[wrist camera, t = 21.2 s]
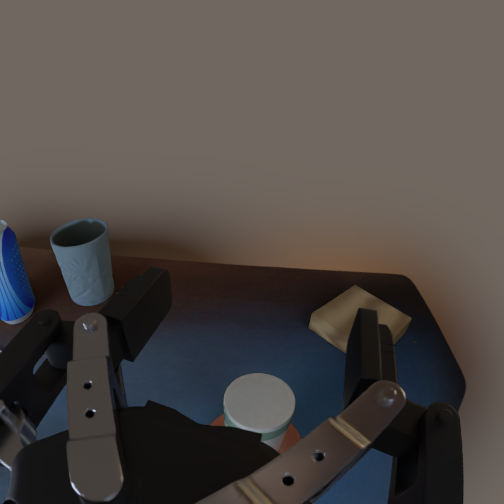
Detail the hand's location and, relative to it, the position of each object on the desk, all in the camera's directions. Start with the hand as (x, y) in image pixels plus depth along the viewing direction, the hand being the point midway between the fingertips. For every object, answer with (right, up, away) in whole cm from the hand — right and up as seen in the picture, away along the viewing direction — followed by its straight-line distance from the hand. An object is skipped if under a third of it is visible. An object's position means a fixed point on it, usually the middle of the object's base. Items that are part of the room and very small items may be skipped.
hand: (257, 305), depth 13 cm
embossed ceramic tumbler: (-29, -5, +38) cm, 48 cm away
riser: (+17, -10, +35) cm, 40 cm away
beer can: (-41, -8, +31) cm, 52 cm away
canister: (0, -19, +17) cm, 25 cm away
